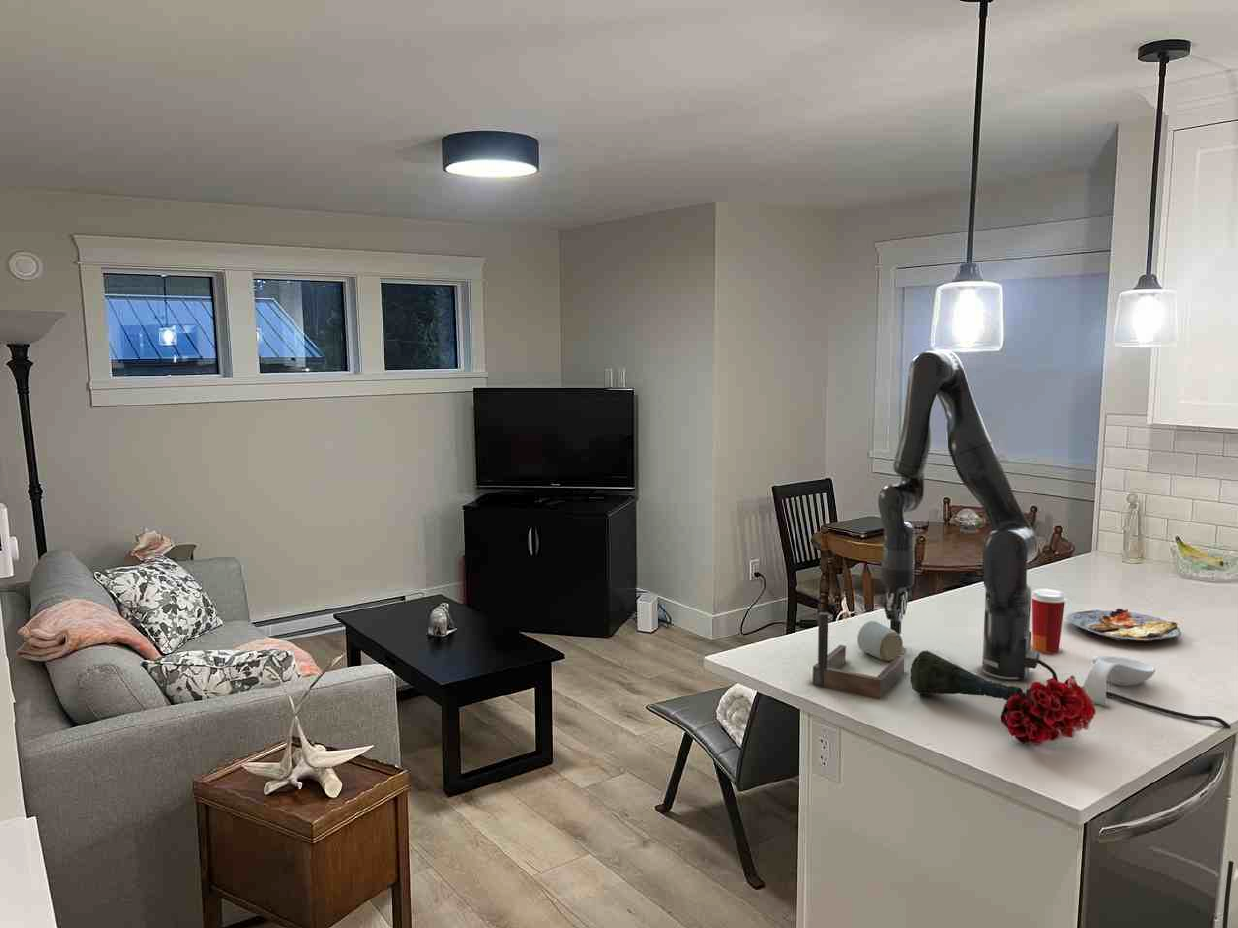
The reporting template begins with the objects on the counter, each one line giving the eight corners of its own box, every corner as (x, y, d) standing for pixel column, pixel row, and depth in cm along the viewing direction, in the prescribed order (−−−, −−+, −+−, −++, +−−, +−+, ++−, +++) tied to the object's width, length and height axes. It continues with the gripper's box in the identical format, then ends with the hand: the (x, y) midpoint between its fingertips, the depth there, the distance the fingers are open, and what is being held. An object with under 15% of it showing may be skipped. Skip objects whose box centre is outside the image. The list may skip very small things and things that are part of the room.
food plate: (1122, 613, 241) (1123, 600, 240) (1202, 640, 219) (1203, 626, 218) (1047, 623, 233) (1047, 610, 233) (1122, 652, 211) (1123, 638, 211)
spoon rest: (1102, 666, 203) (1104, 636, 202) (1161, 680, 194) (1163, 648, 193) (1063, 696, 186) (1065, 663, 185) (1126, 713, 178) (1128, 678, 177)
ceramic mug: (881, 665, 205) (882, 632, 204) (856, 654, 213) (857, 622, 211) (914, 657, 210) (916, 625, 209) (889, 647, 218) (890, 616, 216)
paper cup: (1063, 646, 216) (1066, 590, 214) (1063, 657, 209) (1067, 598, 207) (1027, 642, 219) (1030, 586, 217) (1026, 652, 212) (1029, 595, 210)
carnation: (918, 729, 190) (1093, 780, 163) (879, 691, 179) (1058, 739, 153) (943, 662, 195) (1116, 701, 168) (906, 621, 185) (1084, 656, 158)
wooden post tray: (903, 673, 200) (906, 604, 198) (879, 699, 186) (881, 624, 184) (839, 661, 208) (841, 594, 206) (812, 684, 195) (813, 613, 192)
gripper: (905, 573, 209) (902, 645, 211) (921, 561, 220) (918, 629, 222) (873, 569, 213) (871, 639, 216) (891, 557, 224) (888, 624, 226)
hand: (895, 634), depth 219 cm, fingers closed
